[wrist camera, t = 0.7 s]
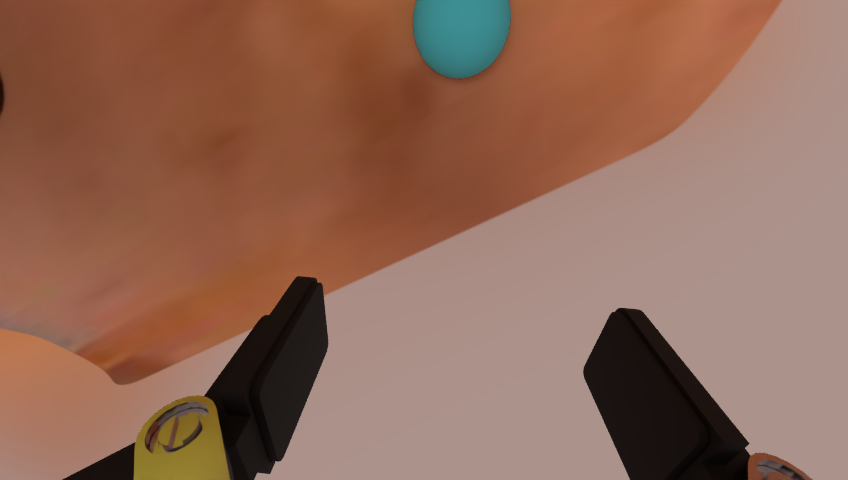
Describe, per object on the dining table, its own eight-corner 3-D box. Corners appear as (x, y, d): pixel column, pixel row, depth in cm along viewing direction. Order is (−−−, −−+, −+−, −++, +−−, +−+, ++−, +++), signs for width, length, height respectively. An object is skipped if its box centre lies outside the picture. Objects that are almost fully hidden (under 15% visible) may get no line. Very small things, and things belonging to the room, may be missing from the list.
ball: (413, 72, 23) (405, 74, 18) (420, -31, 20) (413, -63, 15) (491, 81, 24) (506, 85, 18) (510, -21, 21) (534, -49, 15)
